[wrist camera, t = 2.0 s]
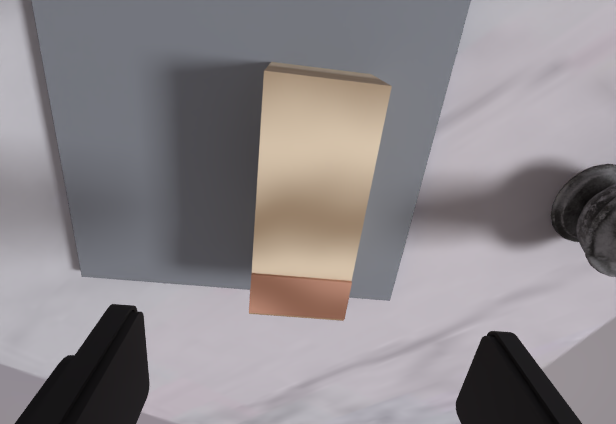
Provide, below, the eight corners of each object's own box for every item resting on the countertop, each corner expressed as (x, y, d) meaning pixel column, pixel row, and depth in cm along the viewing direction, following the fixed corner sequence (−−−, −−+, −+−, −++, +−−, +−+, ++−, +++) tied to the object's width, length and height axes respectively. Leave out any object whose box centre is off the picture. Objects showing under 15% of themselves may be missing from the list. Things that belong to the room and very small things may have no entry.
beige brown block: (271, 61, 18) (263, 70, 14) (371, 74, 19) (392, 86, 14) (257, 264, 23) (248, 315, 19) (335, 271, 24) (343, 322, 20)
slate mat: (9, -191, 15) (-6, -203, 14) (493, -112, 16) (502, -118, 15) (88, 269, 24) (81, 276, 23) (387, 293, 26) (389, 300, 25)
